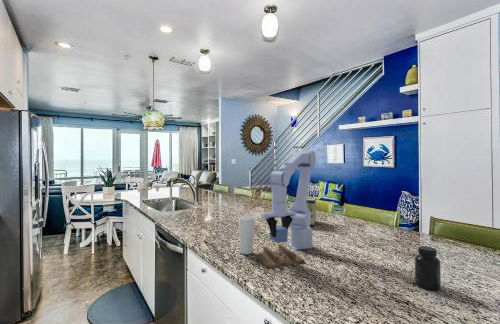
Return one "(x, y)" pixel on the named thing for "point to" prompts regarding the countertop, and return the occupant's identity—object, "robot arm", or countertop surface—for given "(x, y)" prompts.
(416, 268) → the supplement bottle
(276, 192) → the robot arm
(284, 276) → the countertop surface
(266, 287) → the countertop surface
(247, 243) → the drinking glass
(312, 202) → the protein box
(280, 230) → the shelf block
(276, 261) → the shelf frame
